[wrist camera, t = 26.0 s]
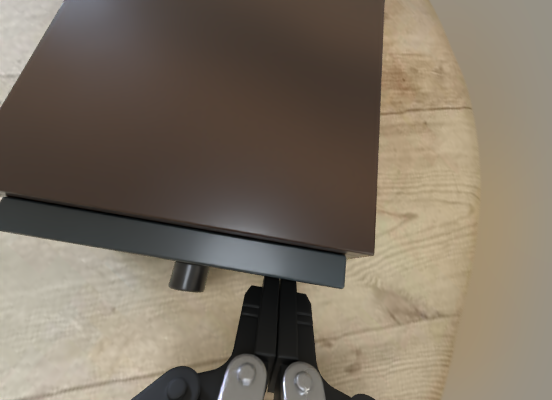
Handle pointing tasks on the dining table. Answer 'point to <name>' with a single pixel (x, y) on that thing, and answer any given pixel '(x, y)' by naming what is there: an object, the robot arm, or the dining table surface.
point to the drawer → (173, 245)
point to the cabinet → (206, 117)
